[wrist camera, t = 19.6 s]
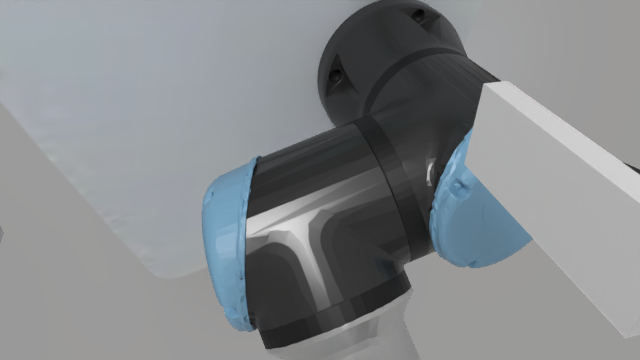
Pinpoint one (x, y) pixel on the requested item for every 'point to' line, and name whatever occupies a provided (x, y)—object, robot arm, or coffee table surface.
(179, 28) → the coffee table surface
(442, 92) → the robot arm
